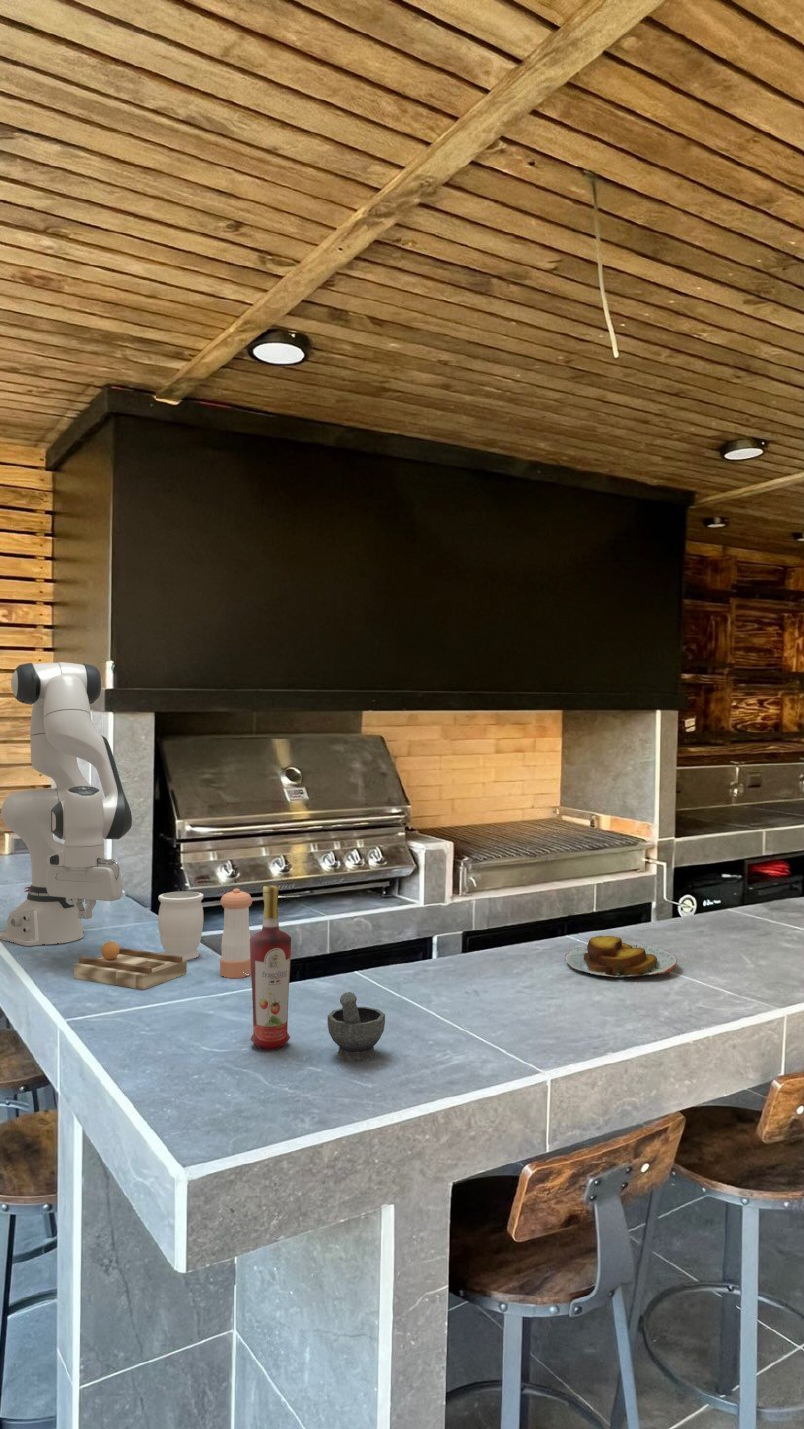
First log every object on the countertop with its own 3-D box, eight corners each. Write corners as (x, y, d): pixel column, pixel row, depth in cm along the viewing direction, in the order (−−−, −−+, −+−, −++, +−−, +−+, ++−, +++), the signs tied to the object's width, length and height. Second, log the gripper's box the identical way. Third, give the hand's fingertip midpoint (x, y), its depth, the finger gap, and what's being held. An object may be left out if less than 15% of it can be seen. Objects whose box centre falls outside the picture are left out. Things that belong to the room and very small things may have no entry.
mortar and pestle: (338, 1043, 168) (338, 975, 168) (389, 1047, 166) (389, 979, 166) (318, 1066, 158) (318, 993, 158) (373, 1071, 155) (373, 997, 155)
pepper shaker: (245, 979, 209) (245, 892, 209) (214, 977, 210) (214, 891, 210) (257, 970, 216) (257, 886, 216) (227, 968, 218) (227, 885, 218)
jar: (208, 952, 232) (209, 891, 232) (195, 963, 222) (195, 899, 222) (166, 951, 233) (167, 890, 233) (151, 962, 223) (151, 898, 223)
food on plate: (697, 980, 210) (697, 951, 210) (591, 987, 205) (591, 957, 205) (645, 951, 235) (645, 925, 235) (549, 957, 230) (549, 930, 230)
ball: (97, 960, 213) (97, 942, 213) (109, 956, 217) (109, 938, 217) (110, 962, 211) (110, 944, 211) (123, 958, 215) (123, 940, 215)
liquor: (255, 1055, 162) (255, 891, 162) (244, 1041, 169) (245, 884, 169) (296, 1049, 165) (296, 888, 165) (284, 1036, 172) (284, 882, 172)
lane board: (73, 978, 210) (73, 959, 210) (118, 963, 222) (118, 945, 222) (143, 989, 201) (143, 970, 201) (186, 973, 213) (186, 955, 213)
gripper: (128, 857, 216) (129, 919, 215) (62, 854, 225) (62, 912, 224) (108, 861, 210) (109, 924, 210) (41, 857, 219) (41, 917, 219)
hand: (84, 918), depth 217 cm, fingers closed
